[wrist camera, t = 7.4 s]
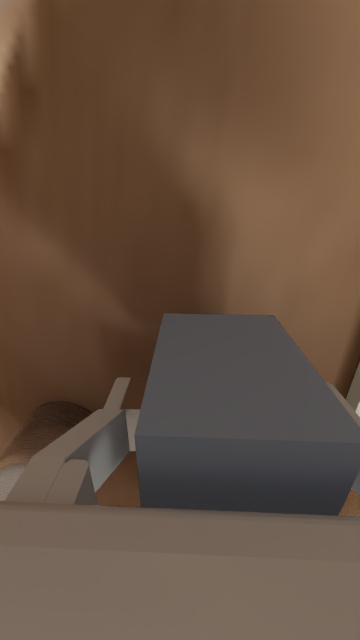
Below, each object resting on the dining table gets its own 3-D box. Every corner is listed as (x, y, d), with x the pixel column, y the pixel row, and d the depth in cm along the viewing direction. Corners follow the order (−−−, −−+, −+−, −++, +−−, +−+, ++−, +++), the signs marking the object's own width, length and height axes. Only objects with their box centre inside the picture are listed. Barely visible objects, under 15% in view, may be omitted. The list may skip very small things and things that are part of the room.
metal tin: (107, 454, 18) (65, 588, 12) (40, 452, 18) (-38, 584, 12) (98, 402, 16) (40, 531, 10) (22, 400, 16) (-84, 527, 10)
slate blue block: (258, 400, 12) (315, 563, 7) (165, 398, 12) (145, 554, 7) (273, 315, 10) (372, 443, 5) (163, 313, 10) (133, 435, 5)
